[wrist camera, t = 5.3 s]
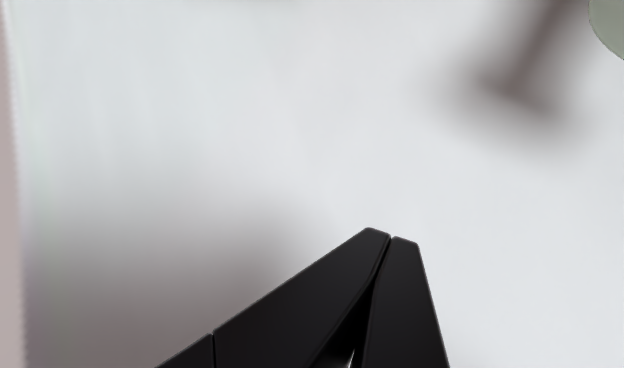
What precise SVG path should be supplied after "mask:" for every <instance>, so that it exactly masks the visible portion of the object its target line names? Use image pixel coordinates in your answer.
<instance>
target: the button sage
mask: <svg viewBox="0 0 624 368" xmlns="http://www.w3.org/2000/svg"><path fill="white" fill-rule="evenodd" d="M588 15H589V21H590V24H591V26H592V29H593V31H594V32H595V34H596V36H597V37H598V38H599V40H600V41H601V42H602V43H603V44H604V45H605V46H606V47H607V48H608V49H609V50H610V51H611V52H613V53H614V54H615V55H617V56H618V57H620V58H621V59H623V60H624V0H590V1H589V7H588Z"/></svg>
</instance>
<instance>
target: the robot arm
mask: <svg viewBox="0 0 624 368" xmlns="http://www.w3.org/2000/svg"><path fill="white" fill-rule="evenodd" d="M353 353H354V354H353ZM352 356H353V358H352ZM351 358H352V361H351ZM350 361H351V365H350V368H450V365H449V362H448V358H447V354H446V350H445V346H444V342H443V338H442V334H441V331H440V327H439V323H438V319H437V315H436V311H435V307H434V303H433V300H432V296H431V292H430V288H429V284H428V280H427V276H426V273H425V269H424V265H423V261H422V257H421V253H420V249H419V246H418V244H417V243H415V242H413V241H410V240H407V239H404V238H401V237H398V236H395V237H393V238H392V239H391V235H390V234H388V233H386V232H383V231H380V230H377V229H374V228H370V227H368V228H365V229H364V230H362V231H361V232H359V233H358V234H356V235H355V236H353V237H352V238H350V239H349V240H347V241H346V242H344V243H343V244H341V245H340V246H338V247H337V248H335V249H334V250H332V251H331V252H329V253H328V254H326V255H325V256H323V257H322V258H320V259H319V260H317V261H316V262H314V263H313V264H311V265H310V266H308V267H307V268H305V269H304V270H302V271H301V272H299V273H298V274H296V275H295V276H293V277H292V278H290V279H289V280H287V281H286V282H284V283H283V284H281V285H280V286H278V287H277V288H275V289H274V290H272V291H271V292H269V293H268V294H266V295H265V296H263V297H262V298H260V299H259V300H257V301H256V302H254V303H253V304H251V305H250V306H248V307H247V308H245V309H244V310H242V311H241V312H239V313H238V314H236V315H235V316H233V317H232V318H230V319H229V320H227V321H226V322H225V323H223V324H222V325H220V326H219V327H217V328H216V329H214V330H213V335H212V334H211V333H208V334H206V335H205V336H203V337H202V338H200V339H199V340H197V341H196V342H194V343H193V344H191V345H190V346H188V347H187V348H185V349H184V350H182V351H180V352H179V353H177V354H176V355H174V356H172V357H171V358H169V359H168V360H166V361H165V362H163V363H161V364H160V365H158V366H157V367H155V368H348V366H349V364H350Z"/></svg>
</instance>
